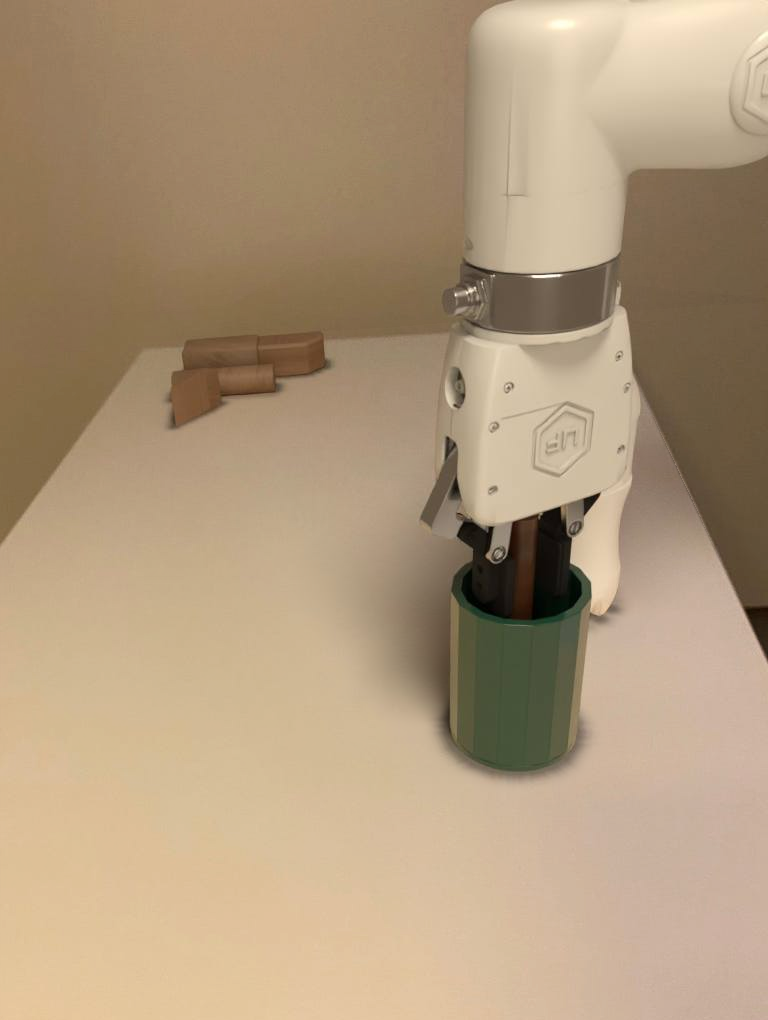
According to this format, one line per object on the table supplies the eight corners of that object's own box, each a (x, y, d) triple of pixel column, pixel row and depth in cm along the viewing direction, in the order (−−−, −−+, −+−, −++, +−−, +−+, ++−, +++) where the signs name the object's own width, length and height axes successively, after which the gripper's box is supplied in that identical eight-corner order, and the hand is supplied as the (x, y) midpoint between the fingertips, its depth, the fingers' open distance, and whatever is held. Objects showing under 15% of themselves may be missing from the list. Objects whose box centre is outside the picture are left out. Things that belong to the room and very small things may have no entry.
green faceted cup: (594, 719, 67) (612, 569, 60) (544, 794, 62) (558, 640, 55) (483, 683, 72) (488, 539, 65) (428, 750, 66) (427, 602, 59)
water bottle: (539, 574, 82) (560, 264, 68) (626, 593, 79) (669, 271, 64) (507, 620, 77) (523, 297, 63) (599, 642, 74) (638, 307, 59)
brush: (555, 715, 67) (574, 504, 57) (527, 754, 64) (543, 539, 54) (494, 695, 69) (503, 488, 59) (465, 732, 66) (470, 521, 57)
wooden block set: (176, 331, 123) (322, 320, 121) (183, 375, 126) (325, 365, 125) (158, 383, 109) (322, 371, 108) (167, 431, 112) (326, 420, 111)
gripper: (436, 349, 44) (436, 673, 55) (721, 274, 49) (670, 585, 60) (356, 307, 50) (370, 608, 61) (619, 243, 55) (589, 532, 66)
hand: (519, 594), depth 60 cm, fingers open, 3 cm apart
